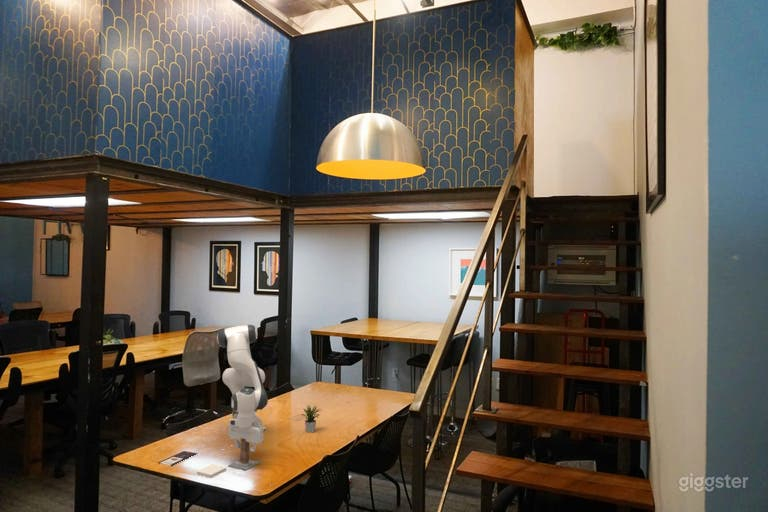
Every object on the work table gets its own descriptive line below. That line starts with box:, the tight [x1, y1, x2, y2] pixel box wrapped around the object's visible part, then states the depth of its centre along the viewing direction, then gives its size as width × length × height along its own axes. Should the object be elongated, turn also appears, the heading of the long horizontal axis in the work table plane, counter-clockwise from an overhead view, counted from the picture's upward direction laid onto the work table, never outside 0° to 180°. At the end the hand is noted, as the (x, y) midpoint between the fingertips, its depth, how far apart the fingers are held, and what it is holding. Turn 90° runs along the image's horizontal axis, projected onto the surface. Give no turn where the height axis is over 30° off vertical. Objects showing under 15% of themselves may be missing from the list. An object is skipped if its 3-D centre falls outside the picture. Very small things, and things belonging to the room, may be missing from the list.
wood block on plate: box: [233, 438, 256, 467], centre depth 244 cm, size 6×8×13 cm
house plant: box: [300, 403, 323, 433], centre depth 298 cm, size 14×14×16 cm
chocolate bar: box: [157, 450, 198, 467], centre depth 251 cm, size 9×1×18 cm
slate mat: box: [228, 458, 261, 471], centre depth 244 cm, size 11×11×1 cm
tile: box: [196, 463, 227, 479], centre depth 234 cm, size 2×9×10 cm
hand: (245, 449), depth 245 cm, fingers open, 8 cm apart
